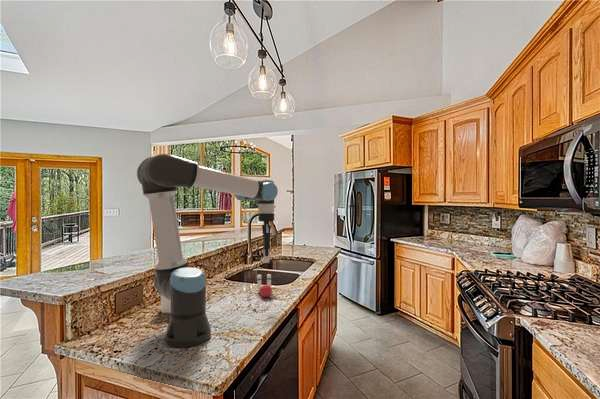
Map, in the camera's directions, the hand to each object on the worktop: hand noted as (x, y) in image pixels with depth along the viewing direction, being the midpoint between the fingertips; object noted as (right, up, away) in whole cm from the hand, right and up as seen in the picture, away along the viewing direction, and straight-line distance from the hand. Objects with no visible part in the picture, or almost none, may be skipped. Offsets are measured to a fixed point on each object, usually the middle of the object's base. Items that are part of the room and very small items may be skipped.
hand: (266, 262), depth 146 cm
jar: (-41, -19, -11) cm, 46 cm away
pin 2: (0, -18, +15) cm, 24 cm away
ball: (-1, -15, +6) cm, 17 cm away
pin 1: (-5, -18, +14) cm, 24 cm away
